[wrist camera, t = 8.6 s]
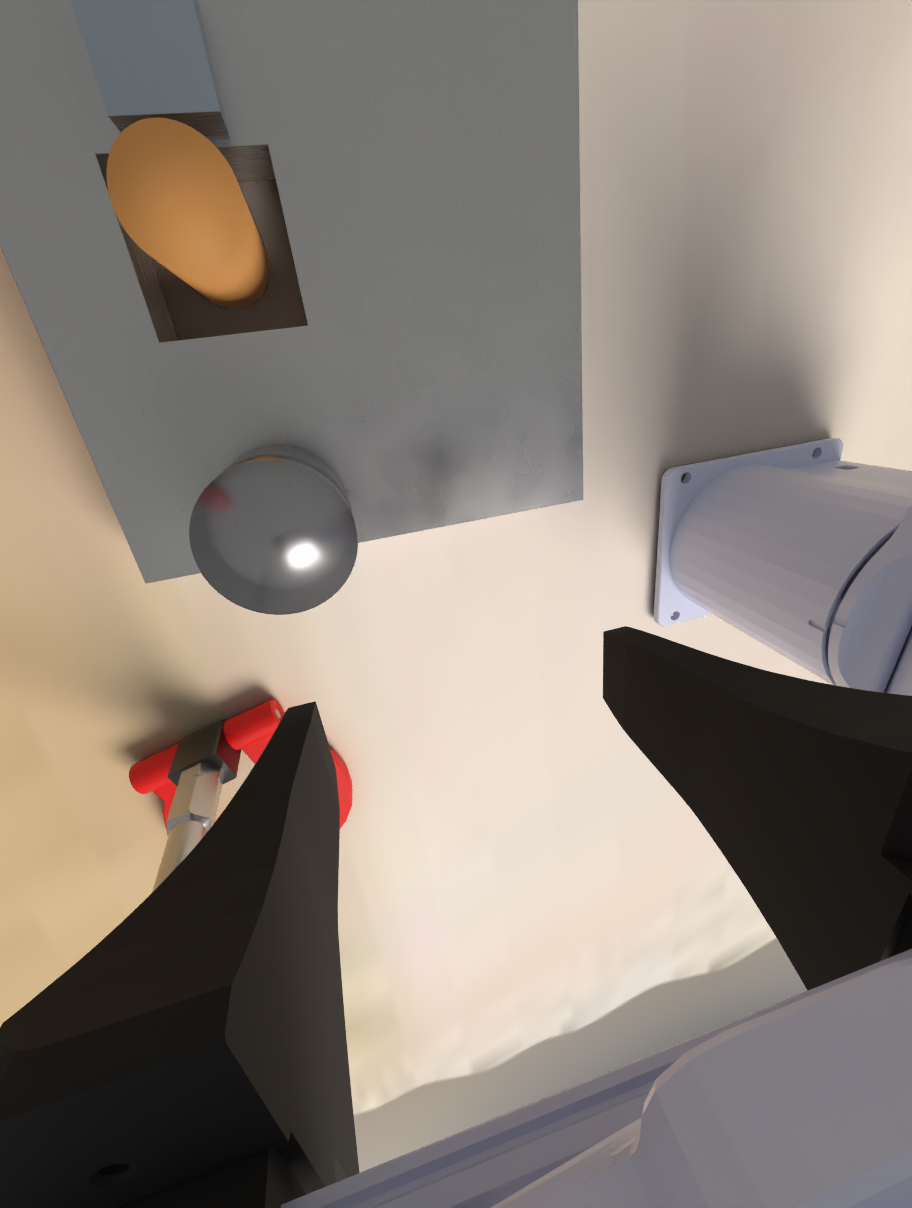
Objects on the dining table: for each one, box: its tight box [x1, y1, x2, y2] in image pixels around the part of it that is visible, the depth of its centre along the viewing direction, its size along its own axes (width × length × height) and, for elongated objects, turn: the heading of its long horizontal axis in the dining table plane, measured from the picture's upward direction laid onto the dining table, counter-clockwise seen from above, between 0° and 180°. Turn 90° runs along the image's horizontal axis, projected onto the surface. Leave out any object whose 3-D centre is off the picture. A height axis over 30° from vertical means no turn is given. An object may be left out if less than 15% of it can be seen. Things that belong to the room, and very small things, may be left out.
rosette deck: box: [0, 0, 583, 615], centre depth 15 cm, size 16×15×6 cm
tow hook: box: [129, 699, 352, 892], centre depth 19 cm, size 8×13×9 cm
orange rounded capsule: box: [107, 117, 270, 308], centre depth 13 cm, size 3×3×6 cm
